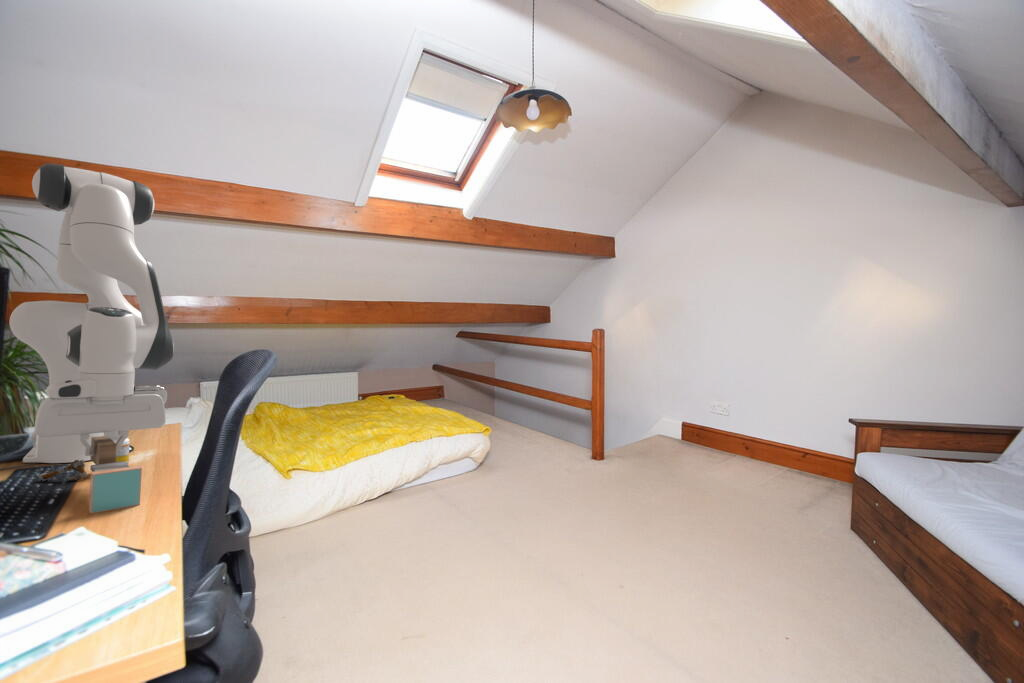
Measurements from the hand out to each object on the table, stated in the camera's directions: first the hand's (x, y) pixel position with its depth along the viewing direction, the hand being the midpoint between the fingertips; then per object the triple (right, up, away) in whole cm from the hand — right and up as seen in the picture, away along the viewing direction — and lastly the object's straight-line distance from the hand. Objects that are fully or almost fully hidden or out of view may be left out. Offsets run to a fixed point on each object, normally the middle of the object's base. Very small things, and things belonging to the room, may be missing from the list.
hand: (102, 454), depth 97 cm
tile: (+10, -8, -9) cm, 16 cm away
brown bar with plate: (+3, -2, -2) cm, 4 cm away
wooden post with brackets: (-12, -7, +4) cm, 15 cm away
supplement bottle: (-8, -7, +12) cm, 16 cm away
